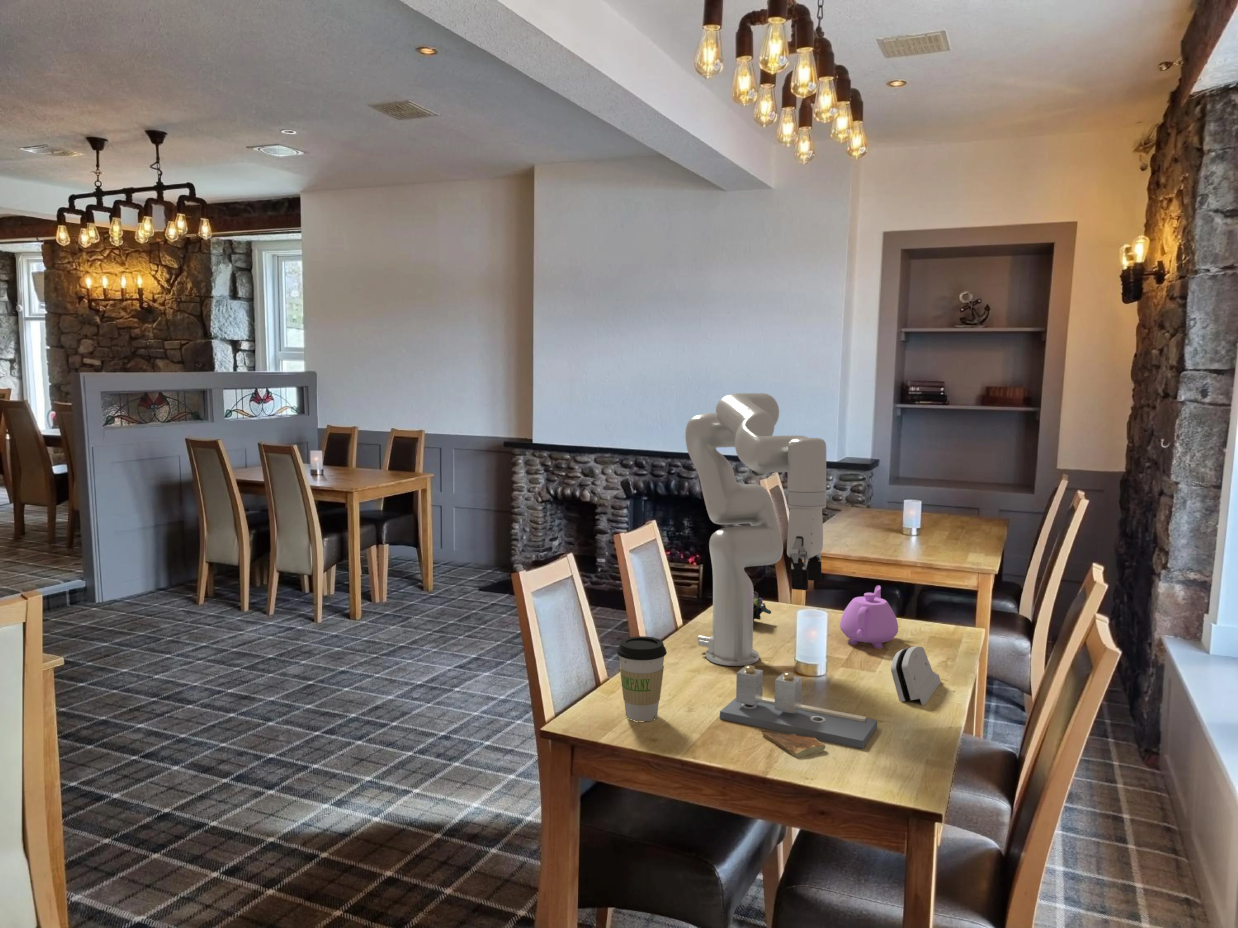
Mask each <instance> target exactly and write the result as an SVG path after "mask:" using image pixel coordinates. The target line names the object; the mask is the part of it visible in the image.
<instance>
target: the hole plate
mask: <svg viewBox="0 0 1238 928" xmlns="http://www.w3.org/2000/svg"><path fill="white" fill-rule="evenodd" d="M719 719H720V720H723V721H730V722H733V723H740V724H743V725H748V726H753V727H758V728H762V729H766V730H767V729H768V730H772V731H775V732H780V733H790V734H797V735H803V736H811V737H816V739H817V740H818V741H819V740H820V741H823V742H829V743H834V744H838V745H843V746H848V747H853V748H857V749H862V750H863V749H864V748H865V746H866V745H867V743H868V742H869V740H870V739H871V737H872V736H873V735H874V733H875V731H876V730H877V729H878V719H875V718H870V717H867V716H864V715H863V716H862V715H860V714H854V713H847V712H843V711H838V710H837V711H836V710H832V709H827V708H822V707H817V706H811V705H808V704H802V703H801V707H800V708H799V709H798V710H797V711H796V713H795V714H794V713H789V712H784V711H779V710H775V698H771V697H770V698H769V697H764V696H762V700H761V701H760V702H759V703H758V704H757V705H756V706H754V705H748V704H743V703H738V702H736V697H735V698H734V699H732V700H731V701H730V702H729V703H728V704H727V705H726V706H725V707H723V708H722V709H721V710H720V711H719Z"/></svg>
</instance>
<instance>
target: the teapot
mask: <svg viewBox="0 0 1238 928" xmlns="http://www.w3.org/2000/svg"><path fill="white" fill-rule="evenodd" d="M881 590H882V587H881V585H876V586H875V587H874V592H865V593H864V594H863V596H856V597H854V598H852V600H851V601H850V602H849V603H848V604H847V605H846V607H845V609H844V610H843V613H842V615H841V619H840V621H839V627H840V630H841V631H842V633H843V634H844V636H846V638H848V639H849V641H848V644H849V643H850V644H849V645H852V644H854V646H855V645H856V644H857V645H859V644H858V643H860V642H862V643H871V644H872V647H873V648H874V649H883V648H884V645H883V644H882V643H888V642H889V641H892V640H893V639H894V638H895V637H896V636H897V635H898V633H899V624H898V618H897V617H896V614H895V613H894V612H895V611H893V608H892V607H891V606H890V604H889V602H888V601H887V600H886V599H884V598H882V597H881V596H882V595H881V592H882V591H881Z"/></svg>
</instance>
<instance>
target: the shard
mask: <svg viewBox="0 0 1238 928" xmlns="http://www.w3.org/2000/svg"><path fill="white" fill-rule="evenodd" d="M761 734H762V737H763V738H765V739H766V738H767V739H766V740H768V741H770V742H772V743H774V744H775V745H777V746H779V747H780V748H782V749H783V750H785V751H786V752H788V753H789V754H791V755H792V756H793V757H796V758H797V759H798V758H802V757H806V756H810V755H815V754H822V753H823V752H824V750H825V749H826V744H825V743H823V742H821V741H819V739H816V737H811V736H803V735H797V734H790V733H785V732H779V731H768V730H761Z"/></svg>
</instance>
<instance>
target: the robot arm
mask: <svg viewBox="0 0 1238 928" xmlns="http://www.w3.org/2000/svg"><path fill="white" fill-rule="evenodd" d="M779 418H780V408H779V405H778V402H777V400H776V399H775V398H774V397H773V396H772V395H770V394H768V393H763V392H760V393H757V392H756V393H755V392H753V393H751V392H750V393H747V392H746V393H745V392H741V393H737V392H736V393H730V394H727V395H725V396H723V397H722V398H720V400H719V401H718V403H717V404H716V406H715V412H708V413H702V414H701V413H700V414H698V415H694V416H693V417H691V418H690V419H689V421H688V422H687V423H686V427H685V433H684V434H685V446H686V449H687V452H688V453H687V454H688V455H689V458H690V460H691V462H692V464H693V465H694V468H695V470H696V473H697V474H698V478H699V481H700V485H701V486H700V487H701V491H702V496H703V499H704V505H705V507H706V508H705V509H706V511H707V514H708V517H709V520H710V521H711V522H712V523H713V524H716V525H723V526H724V525H740V526H730V527H729V526H728V527H722V528H720V529H718V530H716V531H715V532H713V533H712V534H711V536H710V538H709V543H708V546H709V554H710V560H711V568H712V569H711V570H712V635H711V636H707V635H702V634H701V635H698V637H697V643H698V646H700V647H707V650H706V652H705V658H706V659H707V660H708V661H709V662H711V663H714V664H717V665H721V666H726V667H727V666H728V667H741V666H742V667H743V666H744V667H745V666H746V665H753V664H755V663H757V662H759V660H760V653H759V652H758V651H757V650H755V649H754V648H753V647H754V646H753V645H754V643H753V642H754V638H753V637H754V621H753V591H754V585H753V581H752V580H751V578H750V577H749V575H748V574H747V572H746V571H745V568H749V567H760V566H770V565H774V564H776V563H778V562H779V561H780V560H781V559H782V556H783V552H784V543H783V538H782V534H781V529H780V526H779V522H778V518H777V515H776V510H775V507H774V503H773V500H772V497H771V494H770V493H769V491H768V490H767V489H766V488H765V487H764V486H762V485H760V484H757V483H746V484H745V483H744V484H742V483H741V484H740V483H738V482H737V479H736V475H735V471H734V468H733V466H732V464H731V463H730V461H728V459H727V458H726V457H725V456H724V455H723V454H722V453H721V452H719V451H718V450H717V448H734V449H735V452H736V455H737V457H738V459H739V460H740V462H741V463H743V464H744V465H745V466H746V467H748V468H749V469H750V470H751V471H754V472H756V473H760V474H767V473H787V507H788V508H789V514H788V524H787V540H786V542H787V543H786V554H787V556H788V558H791V560H790V563H791V564H790V565H791V566H790V567H791V568H790V569H791V573H790V574H791V575H790V576H791V578H790V579H791V580H790V582H791V583H790V585H791V586H790V587H791V589H792V590H798V591H807V590H809V581H815V582H820V581H821V580H822V554H821V552H823V546H824V545H823V544H824V523H823V522H824V521H823V509H826V508H827V443H826V441H825V440H824V439H822V438H819V437H808V436H805V435H774V431H775V426H776V424H777V423H778V421H779ZM743 524H750V525H748V526H747V525H743Z"/></svg>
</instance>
